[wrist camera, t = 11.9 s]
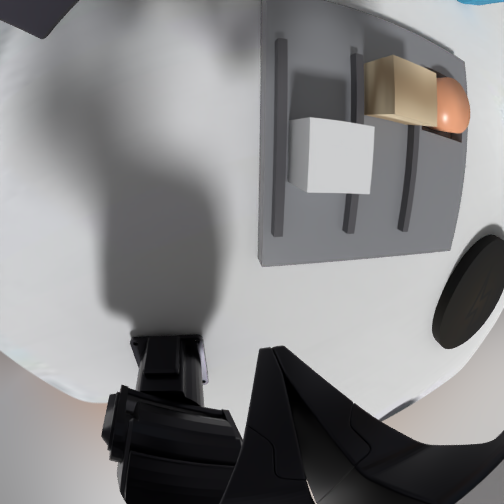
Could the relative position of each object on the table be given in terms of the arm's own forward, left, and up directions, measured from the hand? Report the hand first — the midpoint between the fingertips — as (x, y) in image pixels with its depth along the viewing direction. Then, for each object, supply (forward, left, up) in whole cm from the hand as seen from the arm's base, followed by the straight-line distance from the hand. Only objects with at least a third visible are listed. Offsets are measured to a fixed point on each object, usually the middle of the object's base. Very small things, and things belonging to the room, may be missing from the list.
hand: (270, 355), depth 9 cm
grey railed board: (+8, -12, -12) cm, 19 cm away
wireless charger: (-10, -34, -13) cm, 38 cm away
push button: (+12, -18, -12) cm, 25 cm away
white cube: (+6, -5, -10) cm, 13 cm away
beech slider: (+11, -11, -10) cm, 19 cm away
